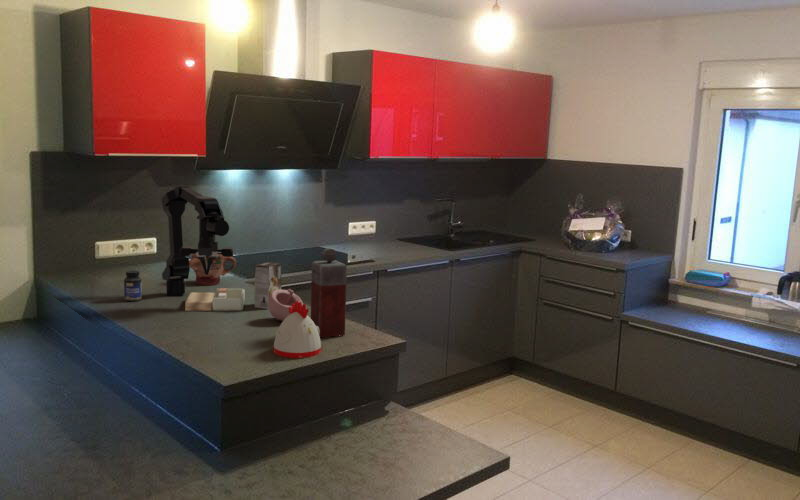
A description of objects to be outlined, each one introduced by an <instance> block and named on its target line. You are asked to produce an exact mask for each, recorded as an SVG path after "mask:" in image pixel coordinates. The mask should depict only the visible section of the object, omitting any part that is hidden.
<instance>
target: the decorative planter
mask: <svg viewBox="0 0 800 500" xmlns="http://www.w3.org/2000/svg"><path fill="white" fill-rule="evenodd" d="M196 256H197V255H196V254H192V255H191V258H190V259H189V267H190V269H192V270H193V271H194V274H195V282H196V284H198V285H199V286H200V285H201V286H215V285H216V286H217V285H218V284H219V283H220V282H221V276H222V277H224V276H226V275H228V274H229V273H230V272H231V271H232V270H233V269H234V268H236V264H237V261H236V258H235V257H234V256H233V257H224V256H223V255H222V254H218V257H217V259H214V260H213V262H212V265H211V268H210V271H209V274H208V275H206V274H205V271H204V268H203V265H202V263H201V261H200V260H199V259H198V258H196ZM208 257H209V256H207V255H206V261H207V266H208ZM227 262H231V263H232V266H231V267H230V268H229V269H226V263H227Z"/></svg>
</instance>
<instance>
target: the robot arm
mask: <svg viewBox="0 0 800 500" xmlns="http://www.w3.org/2000/svg"><path fill="white" fill-rule="evenodd" d="M187 203H189V204H190V205H193V206H194V210H195V212H197V213H198V215H197V216H196V219H197V220H198V231H199V232H198V243H197V248H193V246H192V245H191V246H189V245H188V246H187V245H186V246H185V245H184V239H183V237H184V236H183V224H182V223H183V222H182V217H183V215H184V212H185V211H186V205H187ZM161 205H162V210H163V212H164V213H165V214H166V216H167V221H168V234H169V235H168V237H169V256H168V258H167V260H166V261H165V262H166V266H165V268H164V270H163V272H162V274H161V277H162V280H164V281H166V293H165V296H166V297H178V296H179V297H182V296H184V295H185V294H186V291H187V290H186V288H187V287H186V284H187V283H186V281H185V280H189V276H190V270H191V268H190V267H189V260H190V259H189V256H190V255H191V254H192V255H193V254H196V255H197V256H196V258H198V259H199V260H200V261H201V263H202V265H203V268H204V271H205V274H206V275H208V274H209V271H210V268H211V265H212V262H213V260H214V259H217V257H218V254H222V255H223V256H224V257H233V258H234V255H235V254H234V253H235V249H234V247H232V246H231V247H230V246H223V247H222V248H220V249H219V242H218V241H216V236H218V237H225V236H226V235H227V234H228V233H229V231H230V224H229V223H228V222H227V221H226V220H225V217H224V214H223V212H224V211H223V210H222V208H221V206H220V202H219V201H218V199H216V198H215V197H211V196H205V195H202V194H201V193H199V192H197V191H195V190H194V189H192V188H191V187H190V186H188V185H177V186H175V187H174V188H173V189H171V190H170V191H168V192H166V193H165V194H164V195H163V196H162V198H161ZM206 255H207V256H209V257H208V266H207V261H206Z"/></svg>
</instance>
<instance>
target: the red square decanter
mask: <svg viewBox="0 0 800 500" xmlns="http://www.w3.org/2000/svg"><path fill="white" fill-rule="evenodd" d="M321 256H322V259H323V260H315V261H312V262H311V279H310V281H311V283H310V284H311V286H310V288H311V289H310V318H311V320H312V321H313V322H314V324H315V325H316V326H318V327H319V330H320V333H319V337H327V338H331V337H330V336H338V337H340V336H339V335H345V336H346V313H347V311H346V310H347V309H346V308H347V277H348V275H347V274H348V272H347V271H348V267H347V264H345V263H343V262H341V261H338V260H336V259H337V257H338V255H337V251H336V250H335V249H333V248H331V247H327V248H325V249H323V250H322V254H321Z"/></svg>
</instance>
